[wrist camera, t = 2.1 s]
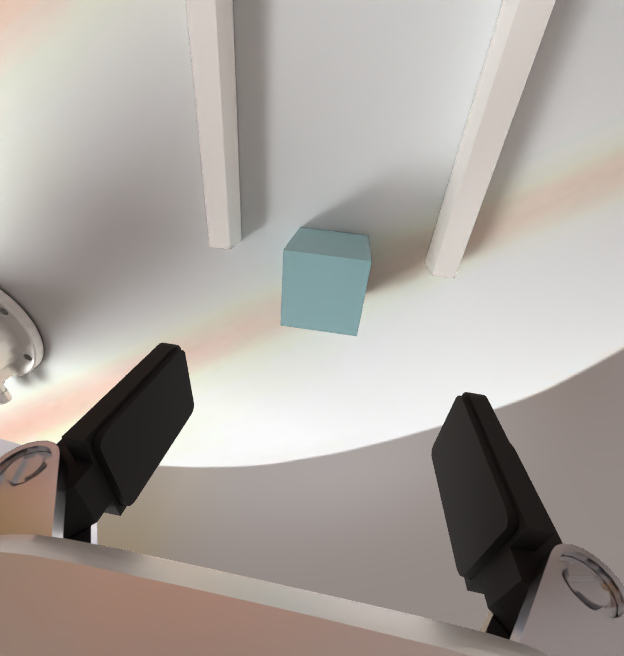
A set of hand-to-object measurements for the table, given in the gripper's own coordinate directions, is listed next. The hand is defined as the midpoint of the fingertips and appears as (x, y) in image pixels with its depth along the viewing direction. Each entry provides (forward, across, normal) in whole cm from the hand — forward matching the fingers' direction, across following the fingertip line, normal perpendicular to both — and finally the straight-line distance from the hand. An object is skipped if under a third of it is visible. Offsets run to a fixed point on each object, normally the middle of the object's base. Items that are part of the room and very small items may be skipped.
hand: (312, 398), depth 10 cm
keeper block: (+15, +1, 0) cm, 15 cm away
